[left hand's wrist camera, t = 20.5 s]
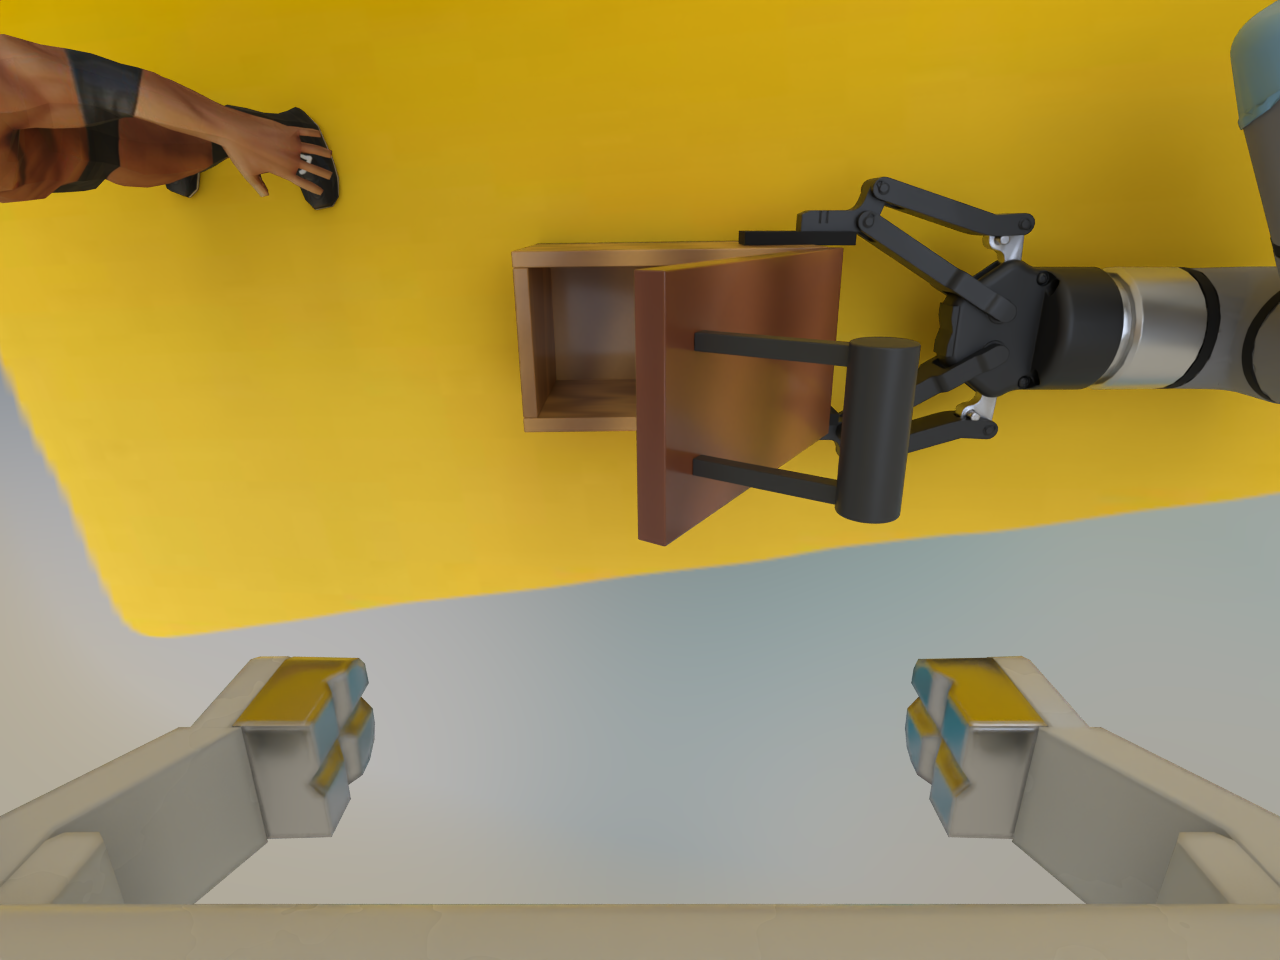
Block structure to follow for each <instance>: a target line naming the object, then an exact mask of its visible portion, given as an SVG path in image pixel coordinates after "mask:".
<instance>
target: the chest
mask: <svg viewBox="0 0 1280 960" xmlns="http://www.w3.org/2000/svg"><path fill="white" fill-rule="evenodd" d="M738 243H739V241H687V242H615V243H543V244H536V245H533V246H529V247H526V248H523V249H519V250H516V251H512V267H513V279H514V293H515V307H516V321H517V335H518V349H519V363H520V377H521V391H522V405H523V417H524V431H525V432H575V431H637V429H636V363H635V298H634V270H636V269H644V268H653V267H661V266H670V265H678V264H686V263H695V262H703V261H712V260H720V259H729V258H737V257H745V256H754V255H762V254H771V253H779V252H788V251H796V250H804V249H813V248H828V247H824V246H818V245H741V244H738Z"/></svg>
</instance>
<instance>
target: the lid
mask: <svg viewBox="0 0 1280 960" xmlns="http://www.w3.org/2000/svg"><path fill="white" fill-rule="evenodd" d="M842 260H843V248H813V249H804V250H796V251H788V252H779V253H771V254H762V255H754V256H745V257H737V258H729V259H720V260H712V261H703V262H695V263H686V264H678V265H670V266H661V267H653V268H644V269H636V270H634V298H635V363H636V429H637V494H638V539H639V540H643V541H647V542H650V543H654V544H658V545H661V546H666V545H668V544H669V543H671V542H672V541H674V540H675V539H677V538H678V537H679V536H681V535H682V534H684V533H685V532H687V531H688V530H690V529H691V528H692V527H694V526H695V525H697V524H698V523H700V522H701V521H703V520H704V519H705V518H707V517H708V516H710V515H711V514H713V513H714V512H716V511H717V510H718V509H720V508H721V507H723V506H724V505H726V504H727V503H728V502H730V501H731V500H733V499H734V498H736V497H737V496H739V495H740V494H741V493H743V492H744V491H746V490H747V489H749V488H750V487H753V488H757V489H762V490H767V491H772V492H777V493H782V494H786V495H791V496H796V497H801V498H806V499H811V500H815V501H820V502H825V503H830V504H835V510H836V512H837V513H838V514H839V515H841V516H842V517H844V518H847V519H849V520H853V521H857V522H862V523H873V524H878V523H887V522H891V521H894V520H896V519H897V518H898V517H899V515H900V511H901V502H902V494H903V486H904V478H905V470H906V462H907V453H908V445H909V437H910V429H911V421H912V413H913V405H914V396H915V388H916V380H917V372H918V364H919V356H920V348H921V345H920V343H918V342H916V341H913V340H909V339H903V338H893V337H863V338H857V339H853V340H851V341H850V342H842V341H836V334H837V321H838V309H839V297H840V285H841V272H842ZM834 365H836V366H846V367H847V374H846V385H845V397H844V408H843V419H842V431H841V442H840V454H839V465H838V476H837V480H835V479H829V478H824V477H819V476H813V475H808V474H803V473H797V472H792V471H787V470H781V469H778V468H779V467H780V466H782V465H783V464H785V463H786V462H788V461H789V460H791V459H792V458H793V457H795V456H796V455H798V454H799V453H801V452H802V451H804V450H805V449H806V448H808V447H809V446H811V445H812V444H814V443H815V442H816V441H818V440H819V439H821V438H822V437H824V436H825V435H827V434H828V432H829V419H830V407H831V395H832V383H833V370H834Z"/></svg>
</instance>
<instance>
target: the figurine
mask: <svg viewBox="0 0 1280 960" xmlns="http://www.w3.org/2000/svg"><path fill="white" fill-rule="evenodd" d="M331 155H332V151H331V150H329V149H328V147H327V144H326V142H325V140H324V137H323V135H322V133H321V130H320V128H319V126H318V125H317V124H316V123H315V122H314V121H313V120H312V119H311V118H310V117H309V116H308V115H307V114H306V113H305V112H304V111H302V110H301V109H299V108H297V107H294V108H292V109H290V110H288V111H285V112H282V113H279V114H274V113H263V112H259V111H255V110H251V109H248V108H243V107H237V106H231V105H225V106H223V105H221V104H218V103H216V102H214V101H212V100H210V99H209V98H207V97H205V96H203V95H201V94H199V93H197V92H195V91H193V90H191V89H189V88H187V87H185V86H183V85H181V84H178V83H176V82H174V81H172V80H170V79H167V78H164V77H162V76H160V75H158V74H156V73H154V72H151V71H147V70H144V69H141V68H137V67H133V66H129V65H124V64H120V63H117V62H114V61H112V60H109V59H106V58H103V57H100V56H97V55H94V54H91V53H86V52H81V51H76V50H71V49H66V48H59V47H53V46H46V45H40V44H37V43H33V42H30V41H26V40H23V39H19V38H16V37H12V36H9V35H5V34H0V202H1V203H8V202H18V201H28V200H36V199H44V198H46V197H47V196H49V195H50V194H51V193H60V192H76V191H86V190H91V189H96V188H97V187H98V186H99V185H100V184H101V183H102V182H103V181H104V180H105V179H106V180H109V181H111V182H113V183H115V184H119V185H122V186H132V187H153V186H158V185H164V184H166V187H167V189H169V190H170V191H172V192H175V193H178V194H180V195H183V196H186V197H189V198H190V197H191V196H192V195H193V194H194V193H195V192H196V191H197V190H198V188H199V177H200V172H204V171H206V170H208V169H210V168H212V167H214V166H216V165H217V164H219V163H220V162H222V161H224V160H225V159H227V158H230V159H231V161H232V162H233V164H234V165H235V166H236V167H237V169H238V170H239V171H240V173H241V174H242V175H243V176H244V178H245V179H246V180H247V181H248V182H249V183H250V184H251V185H252V186H253V187H254V189H255V190H256V191H257V192H258V193H259V195H260V196H261V197H263V196H267V195H269V193H268V189H267V187H266V185H265V183H264V182H263V181H262V178H261V174H263V173H268V172H270V173H272V174H275V175H277V176H280V177H282V178H284V179H287V180H289V181H291V182H293V183H294V184H296V185H298V186H299V187H300V188H301V190H302V193H303V195H304V197H305V200H306V201H307V202H308V203H309V204H310V205H311V206H312V207H313V208H314V209H315V210H318V209H323V208H327V207H332V206H334V204H335V202H336V200H337V199H338V197H339V177H338V174H337V171H336V167H335V164H334V160H333V158H332V156H331Z"/></svg>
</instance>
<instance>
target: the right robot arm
mask: <svg viewBox="0 0 1280 960" xmlns="http://www.w3.org/2000/svg"><path fill="white" fill-rule="evenodd" d="M1230 57H1231V64H1232V72H1233V79H1234V86H1235V93H1236V100H1237V107H1238V114H1239V120H1238V124H1239V128H1240V130H1242V129H1243V130H1244V134H1245V138H1246V142H1247V145H1248V149H1249V153H1250V157H1251V161H1252V165H1253V169H1254V173H1255V177H1256V181H1257V184H1258V188H1259V192H1260V196H1261V200H1262V204H1263V208H1264V212H1265V216H1266V220H1267V223H1268V227H1269V231H1270V235H1271V238H1270V239H1271V242H1272V246H1273V252H1274V257H1275V261H1276V265H1277V267H1220V268H1185V267H1107V268H1104V269H1100V268H1097V267H1032V266H1030V265H1028V264H1026V263H1025V262H1023V261H1021V257H1022V249H1023V241H1024V235H1025V234H1028V233H1029V232H1031V231H1032V229H1033V228H1034V225H1035V219H1034V217H1033V216H1032V215H1031V214H1027V213H1005V214H993V213H990V212H987V211H984V210H981V209H978V208H975V207H973V206H970V205H967V204H964V203H961V202H958V201H955V200H952V199H949V198H946V197H944V196H941V195H938V194H935V193H932V192H929V191H926V190H923V189H920V188H917V187H915V186H912V185H909V184H906V183H903V182H900V181H897V180H894V179H891V178H888V177H880V178H874V179H869V180H867V181H865V182H864V183H863V185H862V187H861V194H860V197H859V199H858V201H857V203H856V205H855V206H854V207H853V208H851V209H849V210H836V211H804V212H801V213H799V214H797V223H796V231H739V243H738V244H741V245H856V235H859V236H860V237H862V238H863V239H865V240H866V241H868V242H869V243H871V244H872V245H874V246H875V247H877V248H878V249H880V250H881V251H883V252H884V253H886V254H887V255H889V256H890V257H892V258H893V259H895V260H896V261H898V262H899V263H901V264H902V265H904V266H905V267H907V268H908V269H910V270H911V271H913V272H914V273H916V274H917V275H919V276H920V277H922V278H923V279H924V280H926V281H927V282H929V283H930V284H931V285H932V286H933V287H934V288H936V289H937V290H939V291H940V292H942V293H943V294H945V295H946V296H947V297H946V299H945V300H944V303H940V308H939V322H940V329H939V331H938V334H937V336H936V339H935V344H934V352H936V353H937V356H935V357H933V358H932V359H930V360H928V361H926V362H924V363H923V364H921V365H920V366H919V368H918V372H917V380H916V388H915V396H914V405H913V407H914V406H916V405H918V404H920V403H922V402H924V401H925V400H927V399H929V398H931V397H933V396H935V395H936V394H938V393H942V392H948V391H950V390H952V389H954V388H956V387H958V386H960V385H961V384H963V383H965V384H966V385H968V386H969V387H970V388H971V389H973V390H974V391H975V392H976V394H975V396H974V397H973V399H971V400H970V401H968V402H963V403H961V404H959V405H957V406H956V411H944V412H939V413H935V414H932V415H928V416H925V417H921V418H918V419H914V420H912V421H911V429H910V437H909V445H908V453H910V452H913V451H917V450H920V449H924V448H927V447H931V446H934V445H938V444H941V443H945V442H948V441H952V440H955V439H959V438H973V439H990V438H992V437H994V436H995V435H996V434H997V431H998V426H997V424H996V423H995V422H993V421H992V417H993V412H994V408H995V403H996V399H997V397H998V396H1001V395H1003V394H1005V393H1007V392H1009V391H1013V390H1019V389H1023V390H1032V389H1083V388H1086V387H1088V388H1091V389H1167V388H1185V389H1220V390H1228V391H1234V392H1238V393H1242V394H1245V395H1249V396H1252V397H1255V398H1259V399H1262V400H1266V401H1269V402H1272V403H1277V404H1280V0H1278V1H1276V2H1274V3H1273V4H1271V5H1270V6H1268V7H1266V8H1265V9H1263V10H1262V11H1260V12H1259V13H1257V14H1256V15H1255V16H1253V17H1252V18H1251V19H1250V20H1249V21H1248V22H1247V23H1246V24H1245V25H1244V26H1243V27H1242V28H1241V29H1240V30H1239V32H1238V34H1237V35H1236V37H1235V39H1234V41H1233V44H1232V46H1231V52H1230ZM884 206H886V207H889V208H892V209H895V210H898V211H901V212H904V213H907V214H910V215H913V216H916V217H919V218H922V219H925V220H928V221H931V222H933V223H936V224H939V225H942V226H945V227H948V228H951V229H954V230H957V231H960V232H963V233H967V234H972V235H983V238H982V242H983V245H984V246H985V247H986V248H987V249H991V250H994V251H995V252H996V253H997V256H998V260H997V261H995V262H993V263H992V264H990V265H989V266H988V267H986V268H985V269H983V270H982V271H980V272H979V273H977V274H976V275H974V276H973V277H972V276H971V275H969V274H968V273H966V272H964V271H962V270H960V269H958V268H956V267H955V266H953V265H952V264H950V263H949V262H947V261H946V260H945V259H943V258H942V257H940V256H939V255H937V254H936V253H934V252H933V251H931V250H930V249H928V248H927V247H925V246H924V245H923V244H921V243H920V242H918V241H917V240H915V239H914V238H912V237H911V236H909V235H908V234H906V233H905V232H903V231H902V230H900V229H899V228H898V227H896V226H895V225H893V224H892V223H890V222H889V221H887V220H886V219H884V218H883V217H881V216H880V214H881V211H882V209H883V207H884ZM842 419H843V411H841V412H839V413H838V412H837V411H836V410H834V409H833V408H832V407H830V419H829V432H828V434H827V435H825V436H824V437H822V438H821V439H819V440H833V441H834V442H835V445H836V452H837V454H838V455H839V454H840V442H841V431H842Z"/></svg>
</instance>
